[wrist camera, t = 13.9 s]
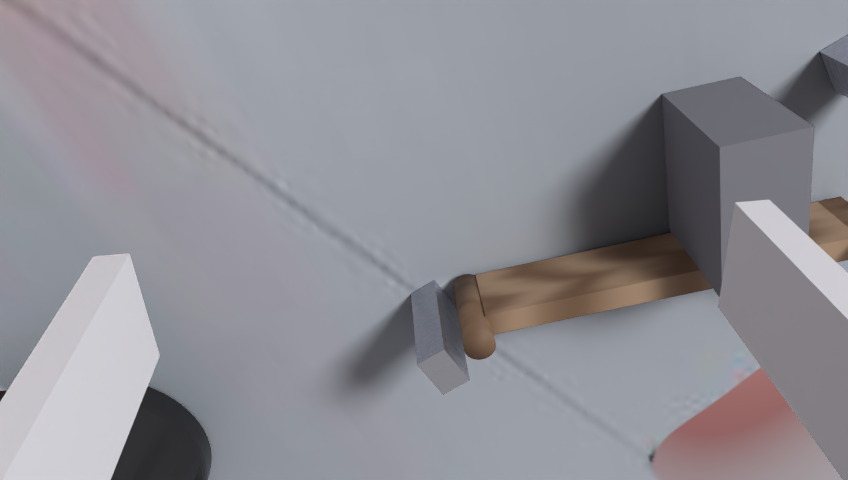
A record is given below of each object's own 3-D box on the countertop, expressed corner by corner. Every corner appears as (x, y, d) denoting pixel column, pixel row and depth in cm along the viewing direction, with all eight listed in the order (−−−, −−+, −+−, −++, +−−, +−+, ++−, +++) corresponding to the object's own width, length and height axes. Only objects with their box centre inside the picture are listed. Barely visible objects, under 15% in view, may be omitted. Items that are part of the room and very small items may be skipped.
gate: (457, 307, 53) (468, 369, 47) (450, 277, 52) (461, 337, 46) (838, 226, 52) (900, 279, 46) (840, 193, 51) (905, 244, 45)
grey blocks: (433, 321, 55) (443, 394, 48) (410, 294, 53) (417, 364, 46) (864, 72, 47) (950, 115, 40) (850, 33, 46) (936, 70, 39)
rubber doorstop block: (668, 228, 52) (722, 300, 44) (661, 93, 47) (719, 147, 39) (740, 213, 52) (806, 282, 44) (740, 76, 47) (814, 126, 39)
